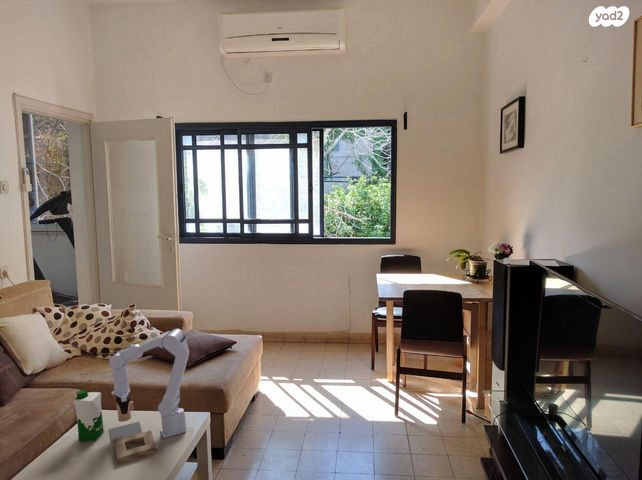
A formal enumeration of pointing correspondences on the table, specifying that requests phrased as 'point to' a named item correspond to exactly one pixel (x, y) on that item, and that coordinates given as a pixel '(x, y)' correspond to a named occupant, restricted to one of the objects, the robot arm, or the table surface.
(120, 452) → the block
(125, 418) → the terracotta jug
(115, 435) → the grey square plate
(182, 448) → the table surface
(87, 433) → the milk carton
